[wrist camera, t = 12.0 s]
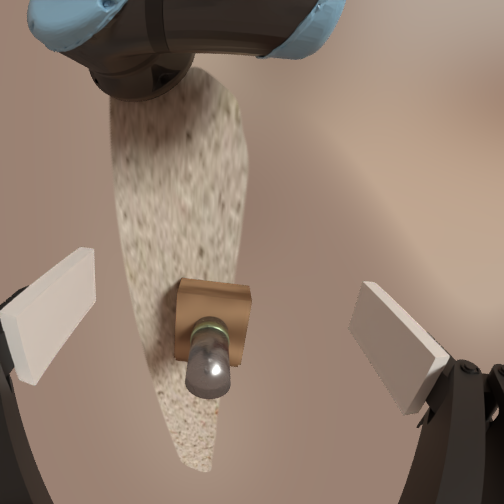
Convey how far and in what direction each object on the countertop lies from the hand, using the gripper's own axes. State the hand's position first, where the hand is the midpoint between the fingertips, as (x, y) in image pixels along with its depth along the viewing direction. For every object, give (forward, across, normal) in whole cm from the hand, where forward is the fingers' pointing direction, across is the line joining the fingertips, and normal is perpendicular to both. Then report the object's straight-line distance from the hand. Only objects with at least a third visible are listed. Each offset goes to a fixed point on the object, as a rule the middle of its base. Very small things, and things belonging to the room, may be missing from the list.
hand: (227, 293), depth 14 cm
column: (+24, 0, -18) cm, 29 cm away
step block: (+29, 0, -18) cm, 34 cm away
